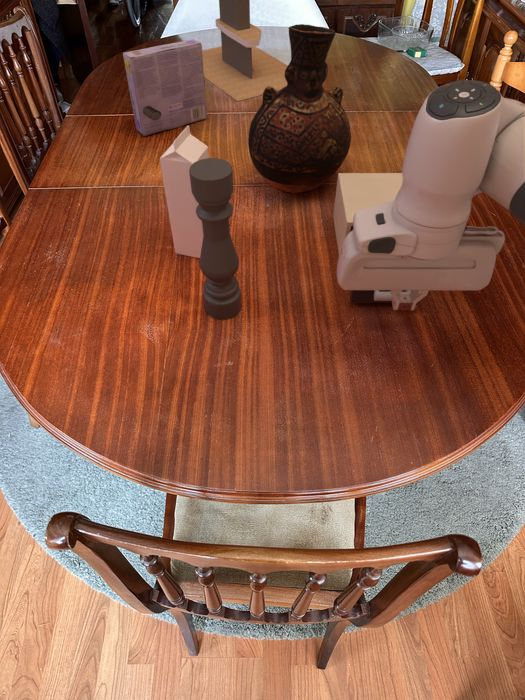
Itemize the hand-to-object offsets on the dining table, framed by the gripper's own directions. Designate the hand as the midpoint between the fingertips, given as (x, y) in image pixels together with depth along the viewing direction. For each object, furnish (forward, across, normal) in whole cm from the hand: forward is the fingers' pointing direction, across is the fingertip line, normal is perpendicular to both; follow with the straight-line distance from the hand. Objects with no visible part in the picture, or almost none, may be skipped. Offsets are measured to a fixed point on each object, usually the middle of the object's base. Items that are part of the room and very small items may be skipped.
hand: (402, 307), depth 73 cm
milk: (+8, +33, -25) cm, 42 cm away
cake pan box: (+8, +43, -75) cm, 86 cm away
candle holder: (+8, +27, -9) cm, 29 cm away
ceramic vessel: (+8, +13, -47) cm, 49 cm away
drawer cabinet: (+8, 0, -27) cm, 28 cm away
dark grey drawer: (+7, 0, -14) cm, 16 cm away
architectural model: (+8, +27, -111) cm, 114 cm away
